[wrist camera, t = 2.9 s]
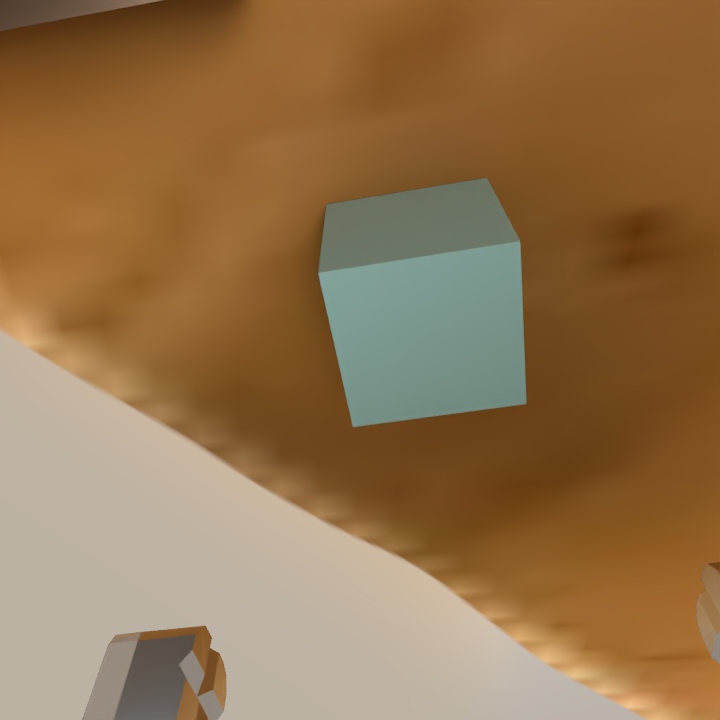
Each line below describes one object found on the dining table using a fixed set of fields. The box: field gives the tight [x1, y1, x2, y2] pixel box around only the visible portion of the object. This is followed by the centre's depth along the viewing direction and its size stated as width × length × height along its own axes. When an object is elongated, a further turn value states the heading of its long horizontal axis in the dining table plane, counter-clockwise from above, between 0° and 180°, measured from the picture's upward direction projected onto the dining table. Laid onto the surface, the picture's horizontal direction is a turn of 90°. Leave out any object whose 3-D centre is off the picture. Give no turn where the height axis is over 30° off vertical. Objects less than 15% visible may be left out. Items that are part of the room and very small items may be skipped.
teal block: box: [318, 178, 526, 427], centre depth 19 cm, size 5×5×5 cm
